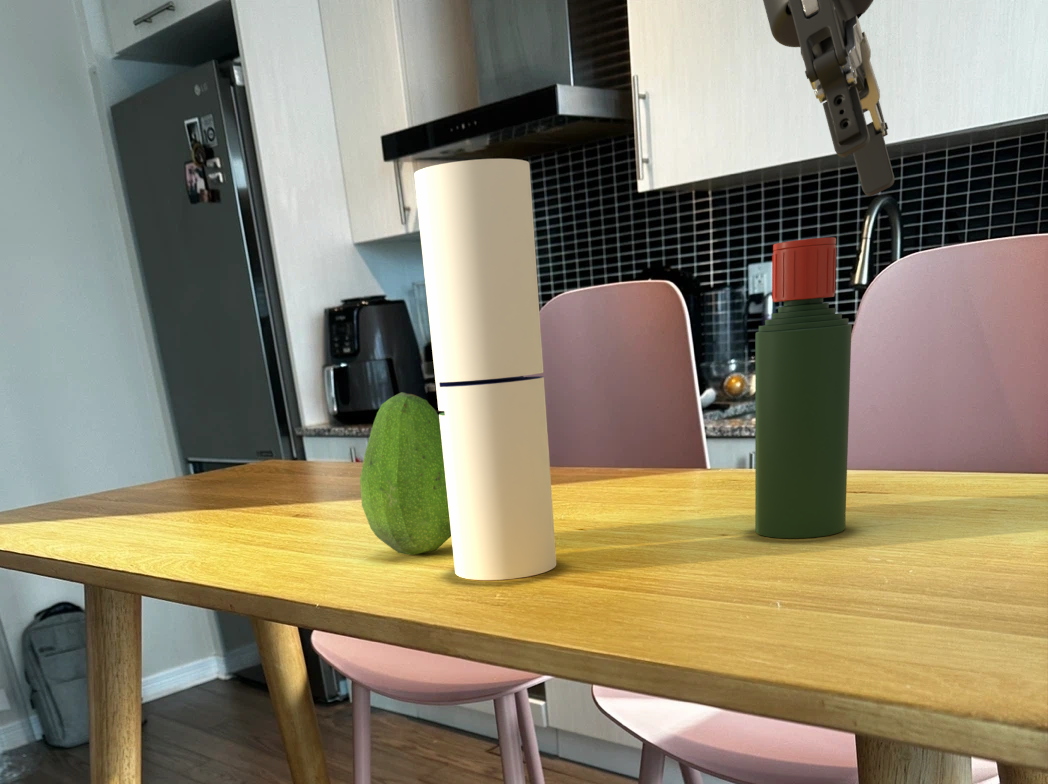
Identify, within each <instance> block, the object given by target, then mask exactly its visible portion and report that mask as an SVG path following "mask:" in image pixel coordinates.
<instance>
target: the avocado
mask: <svg viewBox="0 0 1048 784" xmlns="http://www.w3.org/2000/svg"><path fill="white" fill-rule="evenodd" d="M363 456H364V457H363V462H362V467H361V472H360V477H359V483H360V484H359V485H360V497H361V507H362V510H363V512H364V515H365V517H366V520H367V523H368V525H369V528H370V530H371V531H372V533H373V534H374V535H375V537H376V538H377V539H379V540H380V541H381V542H382V543H384V544H385V545H386V546H388V547H389V548H391V549H392V550H393V551H395V552H397V554H402V555H410V556H414V555H419V554H425V553H430V552H434V551H437V550H438V549H439V548H440V547H441V546H442V545H443V544H444V543H446V542H447V541H448V540H449V539H450V538H452V537H451V527H450V517H449V507H448V498H447V488H446V478H445V468H444V459H443V449H442V439H441V429H440V420H439V414H438V412H437V411H436V409H435V408H434V407H433V406H432V405H431V404H430V403H429V401H428V400H427V399H424V398H422V397H420V396H418V395H416V394H412V393H407V392H402V391H401V392H399V393H397V394H395V395H393V396H391V397H390V398H388V399H387V400H386V401H384V402H383V403H381V405H380V407H379V409H378V411H377V412H376V415H375V417H374V420H373V424H372V427H371V431H370V435H369V438H368V441H367V445H366V448H365V452H364V455H363Z"/></svg>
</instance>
